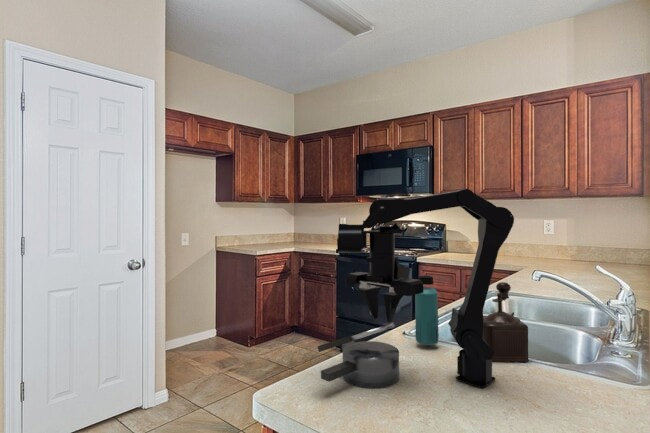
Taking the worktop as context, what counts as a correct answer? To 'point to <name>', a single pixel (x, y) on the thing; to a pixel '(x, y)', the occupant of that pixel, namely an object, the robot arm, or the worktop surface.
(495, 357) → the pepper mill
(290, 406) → the worktop surface
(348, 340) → the lid
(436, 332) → the beverage bottle
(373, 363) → the pot
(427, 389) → the worktop surface
